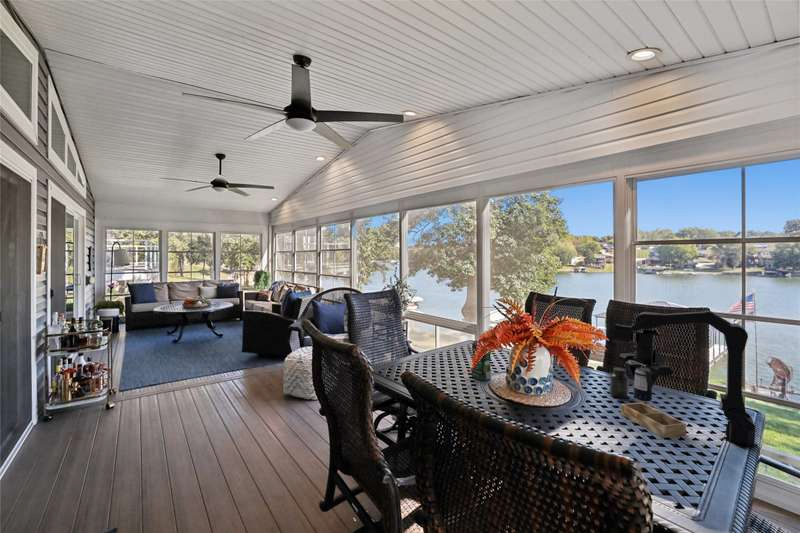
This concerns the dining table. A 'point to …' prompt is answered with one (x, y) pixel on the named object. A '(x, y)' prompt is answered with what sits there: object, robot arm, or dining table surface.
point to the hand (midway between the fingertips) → (643, 385)
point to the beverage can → (641, 386)
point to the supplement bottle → (619, 383)
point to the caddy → (653, 420)
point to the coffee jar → (481, 366)
